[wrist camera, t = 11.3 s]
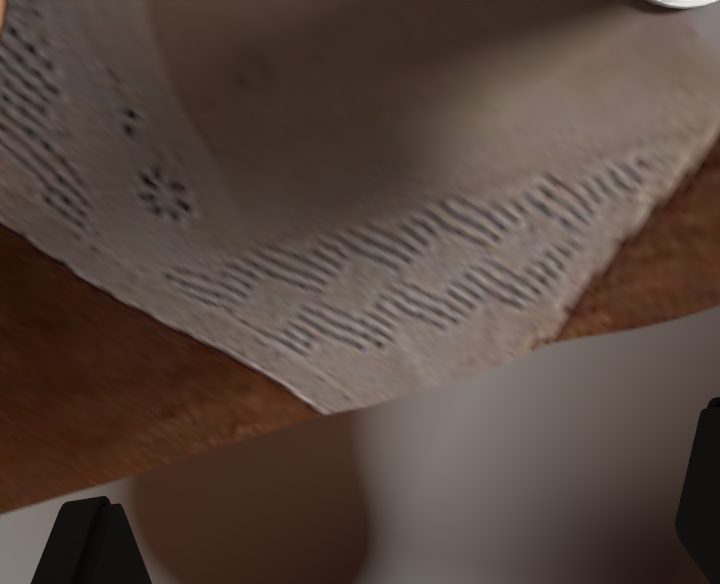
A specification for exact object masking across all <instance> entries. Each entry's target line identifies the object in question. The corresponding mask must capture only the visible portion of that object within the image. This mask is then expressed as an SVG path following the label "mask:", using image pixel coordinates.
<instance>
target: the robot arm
mask: <svg viewBox="0 0 720 584" xmlns="http://www.w3.org/2000/svg"><path fill="white" fill-rule="evenodd" d="M646 1H648V2H650V3H652V4H655V5H659V6H663V7H667V8H680V9H688V8H697V7H704V6H707V5H710V4H713V3H716V2H719V1H720V0H646ZM675 526H676V532H677V535H678V537H679V540H680V542H681V543H682V545H683V546H684V548H685V549H686V550H687V552H688V553H689V555H690V556H691V557H692V559H693V560H694V561H695V563H696V564H697V565H698V567H699V568H700V570H701V571H702V572H703V574H704V575H705V577H706V578H707V579H708V581H709V582H710V583H711V584H720V397H717V398H713V399H712V400H711V401H709V404H708V406H707V408H706V409H703V410H702V411H701V413H700V417H699V421H698V425H697V429H696V434H695V438H694V442H693V447H692V451H691V456H690V459H689V464H688V469H687V473H686V477H685V481H684V486H683V490H682V494H681V498H680V503H679V507H678V511H677V516H676V521H675ZM31 584H152V583H151V580H150V577H149V575H148V572H147V569H146V567H145V564H144V562H143V559H142V556H141V554H140V551H139V548H138V546H137V543H136V540H135V538H134V535H133V533H132V530H131V527H130V525H129V522H128V520H127V517H126V514H125V512H124V509H123V507H122V505H121V504H112V505H111V503H110V501H109V499H108V498H107V497H106V496H100V497H94V498H88V499H82V500H76V501H69V502H65V503H64V504H63V505H62V507H61V509H60V510H59V513H58V515H57V518H56V521H55V523H54V526H53V528H52V531H51V533H50V536H49V538H48V541H47V543H46V546H45V549H44V551H43V554H42V557H41V559H40V562H39V564H38V567H37V569H36V572H35V574H34V577H33V579H32V582H31Z"/></svg>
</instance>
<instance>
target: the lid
mask: <svg viewBox="0 0 720 584" xmlns="http://www.w3.org/2000/svg"><path fill="white" fill-rule="evenodd" d="M7 8H8V0H0V41H1V38H2V34H3V31H4V27H5V23H6V16H7Z"/></svg>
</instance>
